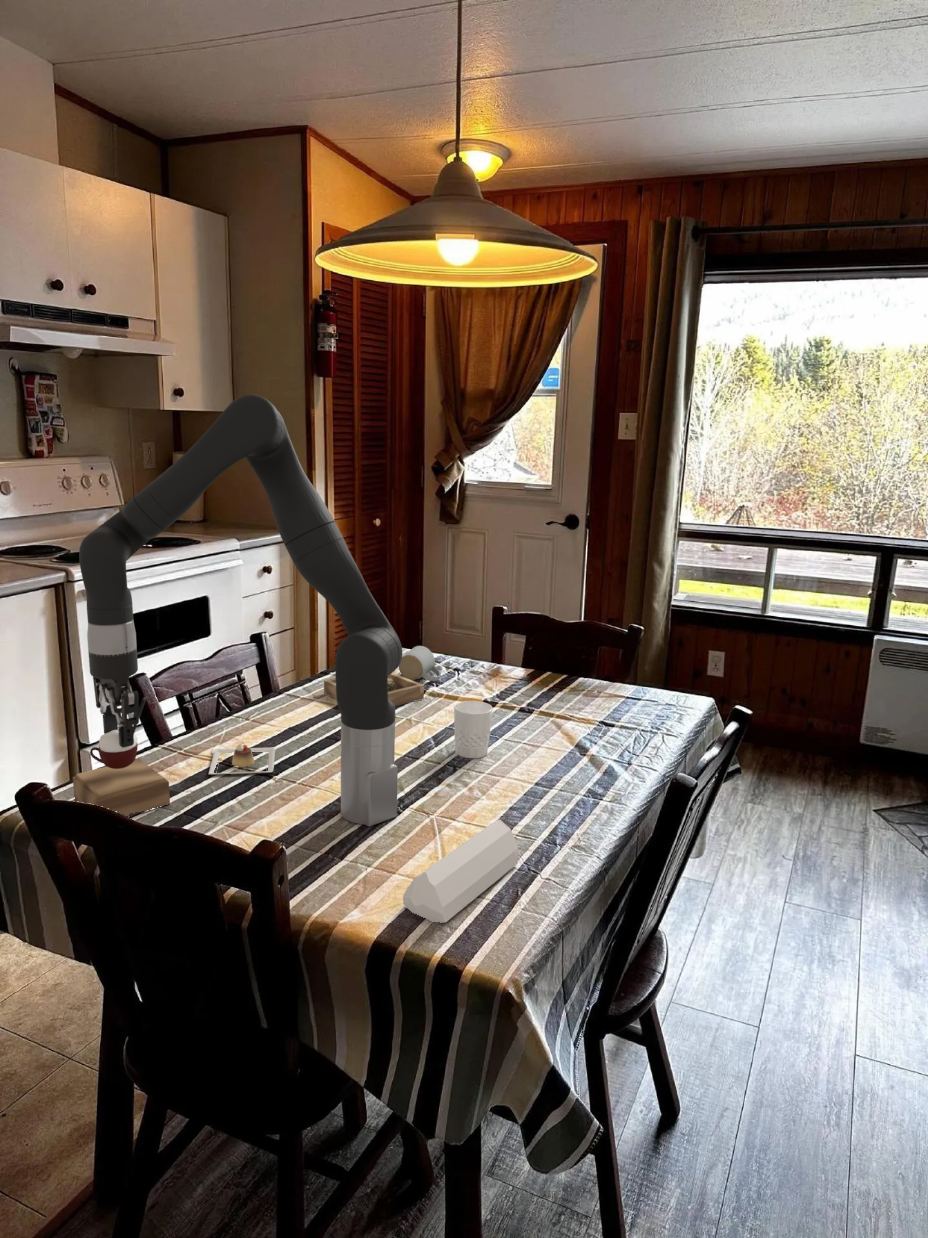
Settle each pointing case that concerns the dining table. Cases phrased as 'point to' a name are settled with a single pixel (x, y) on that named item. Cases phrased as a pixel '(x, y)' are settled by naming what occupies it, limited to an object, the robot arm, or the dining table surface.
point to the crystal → (462, 874)
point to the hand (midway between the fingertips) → (118, 739)
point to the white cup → (472, 728)
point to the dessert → (242, 758)
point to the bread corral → (401, 695)
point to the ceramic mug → (419, 664)
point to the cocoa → (116, 748)
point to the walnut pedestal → (123, 788)
